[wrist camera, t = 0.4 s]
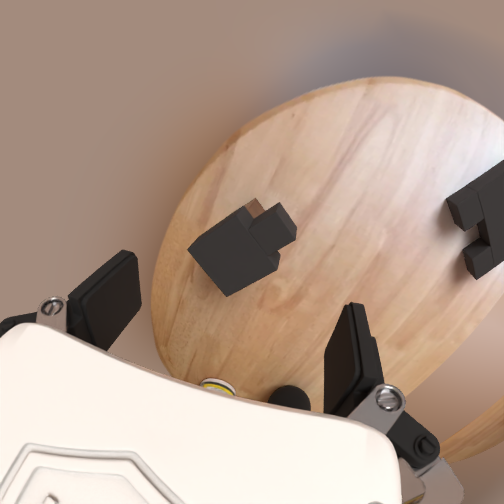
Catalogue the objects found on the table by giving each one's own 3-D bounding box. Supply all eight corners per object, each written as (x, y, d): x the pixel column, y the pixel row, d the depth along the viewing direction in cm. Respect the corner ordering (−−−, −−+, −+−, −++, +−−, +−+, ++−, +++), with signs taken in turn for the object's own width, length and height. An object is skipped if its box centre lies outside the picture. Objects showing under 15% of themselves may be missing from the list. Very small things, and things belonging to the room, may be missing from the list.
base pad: (445, 198, 23) (456, 205, 20) (503, 159, 19) (516, 163, 16) (467, 270, 25) (476, 280, 23) (519, 231, 21) (530, 239, 19)
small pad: (233, 281, 24) (226, 297, 22) (198, 237, 23) (186, 249, 21) (306, 240, 21) (305, 254, 19) (269, 187, 20) (264, 195, 18)
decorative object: (262, 381, 39) (242, 467, 25) (302, 373, 36) (292, 466, 23) (280, 403, 41) (266, 481, 27) (317, 395, 38) (311, 479, 25)
